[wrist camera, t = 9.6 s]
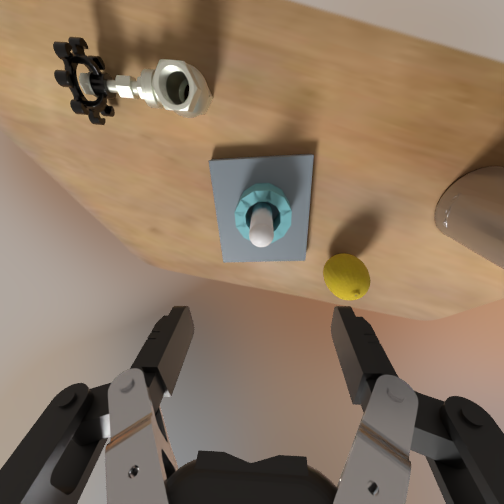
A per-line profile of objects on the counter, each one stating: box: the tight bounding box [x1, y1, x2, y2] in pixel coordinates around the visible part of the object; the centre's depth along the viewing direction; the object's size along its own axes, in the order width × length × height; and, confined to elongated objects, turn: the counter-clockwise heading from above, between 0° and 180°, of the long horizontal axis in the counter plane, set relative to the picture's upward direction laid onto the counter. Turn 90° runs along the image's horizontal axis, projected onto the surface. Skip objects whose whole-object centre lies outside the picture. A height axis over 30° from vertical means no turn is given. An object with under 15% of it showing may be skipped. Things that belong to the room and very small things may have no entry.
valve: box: [53, 37, 213, 125], centre depth 20 cm, size 7×7×12 cm
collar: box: [234, 183, 292, 244], centre depth 26 cm, size 6×6×4 cm
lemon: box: [323, 253, 370, 300], centre depth 29 cm, size 6×6×8 cm
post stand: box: [209, 154, 314, 262], centre depth 25 cm, size 12×14×10 cm
